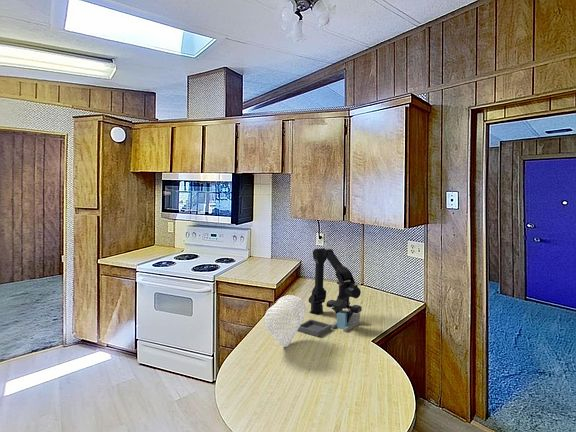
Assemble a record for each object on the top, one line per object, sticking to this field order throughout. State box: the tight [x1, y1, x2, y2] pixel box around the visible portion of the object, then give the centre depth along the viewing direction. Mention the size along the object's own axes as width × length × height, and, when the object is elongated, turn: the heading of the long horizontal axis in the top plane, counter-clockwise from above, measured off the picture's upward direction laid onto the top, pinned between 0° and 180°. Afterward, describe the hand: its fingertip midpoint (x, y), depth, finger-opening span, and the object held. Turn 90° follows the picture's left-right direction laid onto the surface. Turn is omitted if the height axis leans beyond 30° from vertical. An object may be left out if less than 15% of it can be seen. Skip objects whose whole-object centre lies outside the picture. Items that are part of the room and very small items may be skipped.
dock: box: [330, 309, 361, 333], centre depth 190 cm, size 9×18×7 cm, turn 143°
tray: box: [297, 318, 332, 338], centre depth 182 cm, size 13×13×3 cm
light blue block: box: [336, 309, 350, 330], centre depth 187 cm, size 5×6×9 cm
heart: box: [264, 294, 307, 348], centre depth 162 cm, size 28×16×22 cm, turn 164°
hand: (343, 321), depth 187 cm, fingers closed on light blue block, 5 cm apart
